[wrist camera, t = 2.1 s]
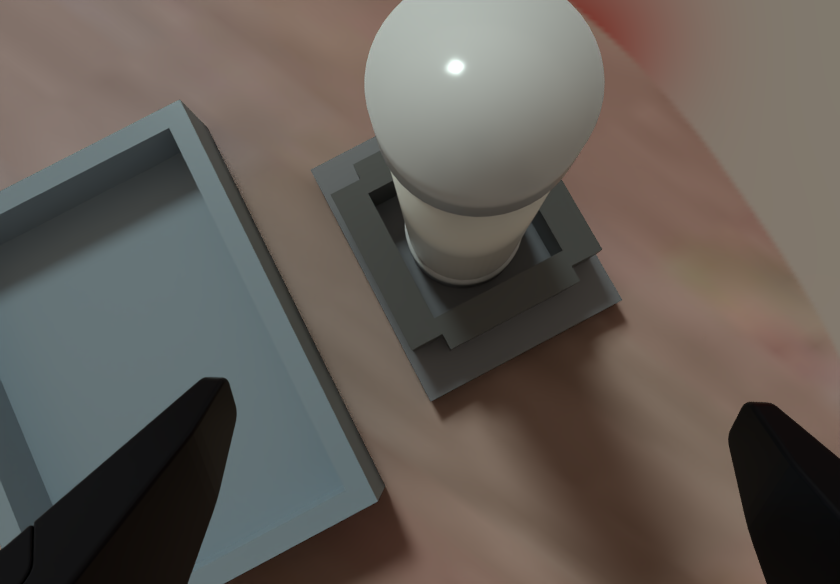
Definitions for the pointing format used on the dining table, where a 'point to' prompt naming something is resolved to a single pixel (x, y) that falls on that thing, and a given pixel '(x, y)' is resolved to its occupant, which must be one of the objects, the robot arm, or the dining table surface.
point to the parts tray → (163, 342)
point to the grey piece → (465, 307)
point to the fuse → (479, 122)
